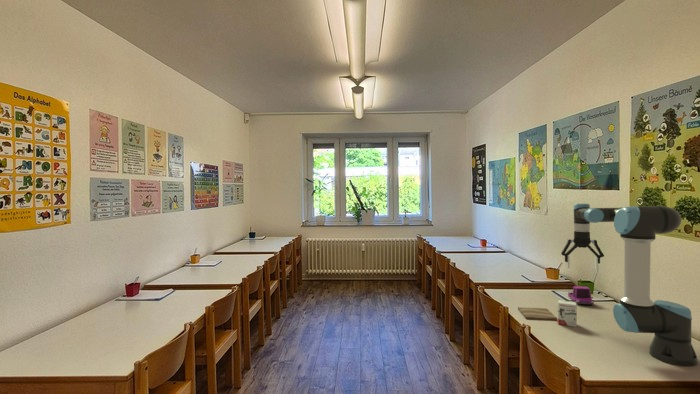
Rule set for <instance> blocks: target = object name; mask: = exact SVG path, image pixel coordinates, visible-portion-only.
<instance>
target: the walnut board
mask: <svg viewBox="0 0 700 394" xmlns="http://www.w3.org/2000/svg"><path fill="white" fill-rule="evenodd" d="M517 311H519V312H520V314H521V315H522V316H523V317H524V318H525V320H538V321H539V320H541V321H558V317H557V316H555V315H554V313H552V312H551V311H550V310H549V309H548V308H546V307H545V308H543V307H542V308H541V307H519V306H518V307H517Z"/></svg>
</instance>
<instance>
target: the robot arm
mask: <svg viewBox="0 0 700 394" xmlns="http://www.w3.org/2000/svg"><path fill="white" fill-rule="evenodd" d="M572 211H573V231H574V232H573V239H571V238H568V239H567V241H566V244H565V246H564V247H563V249H562V251H561V253H560V254H561V255H562V256H564V262H565V263H566V268H567V269H570V254H571V253H572V252H574V251H575V249H577V248H583V249H586V248H588V249H589V251H590V252H591V253H593V255H594V269H595V270H596V271H598V270H599V264H601V258H604V257H605V255H604V253H603V251H602V249H601V248H600V246H599V245H598V241H597V240H596V239H591V232H590V230H591V224H592V223H595V224H596V223H613V227H614V230H615V231H616V233H618V234H620V236H619V237H620V238H621V239H622V240H623V241H624V266H623V267H624V271H623V272H624V280H623V286H624V287H623V288H624V289H623V295H621V296H620V297H619V302H618V303H616V304H614V305H613V308H612V315H613V318H614V320H615V322H616V323H617V325H618V327H619V328H620V329H622V331H624V332H626V333H627V332H628V333H634V334H640V333H641V334H654V336H653V338H652V341H651V343H650V345H649V347H648V348H649V352H648V353H649V355H651V357H653V358H655V359H657V360H659V361H662V362H665V363H669V364H672V365H676V366H684V367H692V366H693V367H694V366H697V364H698V356H697V354H696V351H695V349H694V347H693V343H692V320H693V317H692V310H691V309H690V308H689V307H688V306H685V305H682V304H680V303H676V302H673V301H669V300H663V299H656V300H654V301H653V300H652V299H651V251H652V250H651V248H652V246H651V243H653V242H654V241H655V240H656V235H659V234H661V235H662V234H669V233H673V232H675V231H676V230H677V229H678V228H679V227H680V226H681V224H682V216H681V215H680V214H681V213H679V212H678V210H676V209H674V208H672V207H670V206H669V207H668V206H664V205H655V206H653V205H650V206H645V205H643V206H639V205H637V206H636V205H634V206H633V205H632V206H624V207H622V206H621V207H590V203H575V204H574V205H573V210H572ZM572 243H574V244H573V245H572V247H571V246H570V245H571V244H572ZM591 243H592V244H593V245H594V247H595V249H596V251H597V252H596V251H595V249H593V247H592V246H591ZM569 247H570V249H569Z"/></svg>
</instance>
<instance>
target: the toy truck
mask: <svg viewBox="0 0 700 394" xmlns="http://www.w3.org/2000/svg"><path fill="white" fill-rule="evenodd" d="M567 297H568V298H569V300H570V299H572V300H571V301H572V302H575V303H576V304H577V305H589V306H592V305H594V304H595V303H594V298H593V297H592V293H591V288H590V287H588V286H580V285H579V286H575V285H574V286H573V289H572V292H567Z"/></svg>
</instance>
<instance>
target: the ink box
mask: <svg viewBox="0 0 700 394" xmlns="http://www.w3.org/2000/svg"><path fill="white" fill-rule="evenodd" d="M577 307H578V304H576V303H575V301H571V300H570V301H568V300H560V299H559V300H557V324H558V325H560V326H561V325H562V326H569V327H575V328H576V327H577V319H578V314H577V312H578V310H577V309H578V308H577Z"/></svg>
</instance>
